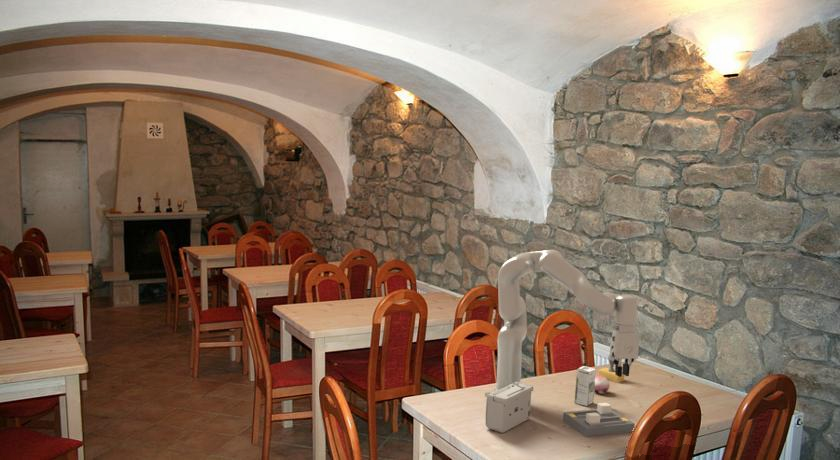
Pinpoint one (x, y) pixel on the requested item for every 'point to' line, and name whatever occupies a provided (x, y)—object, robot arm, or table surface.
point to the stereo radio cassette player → (508, 406)
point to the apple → (601, 384)
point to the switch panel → (607, 425)
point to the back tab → (604, 408)
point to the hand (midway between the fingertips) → (621, 375)
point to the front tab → (592, 418)
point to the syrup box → (585, 385)
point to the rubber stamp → (611, 373)
